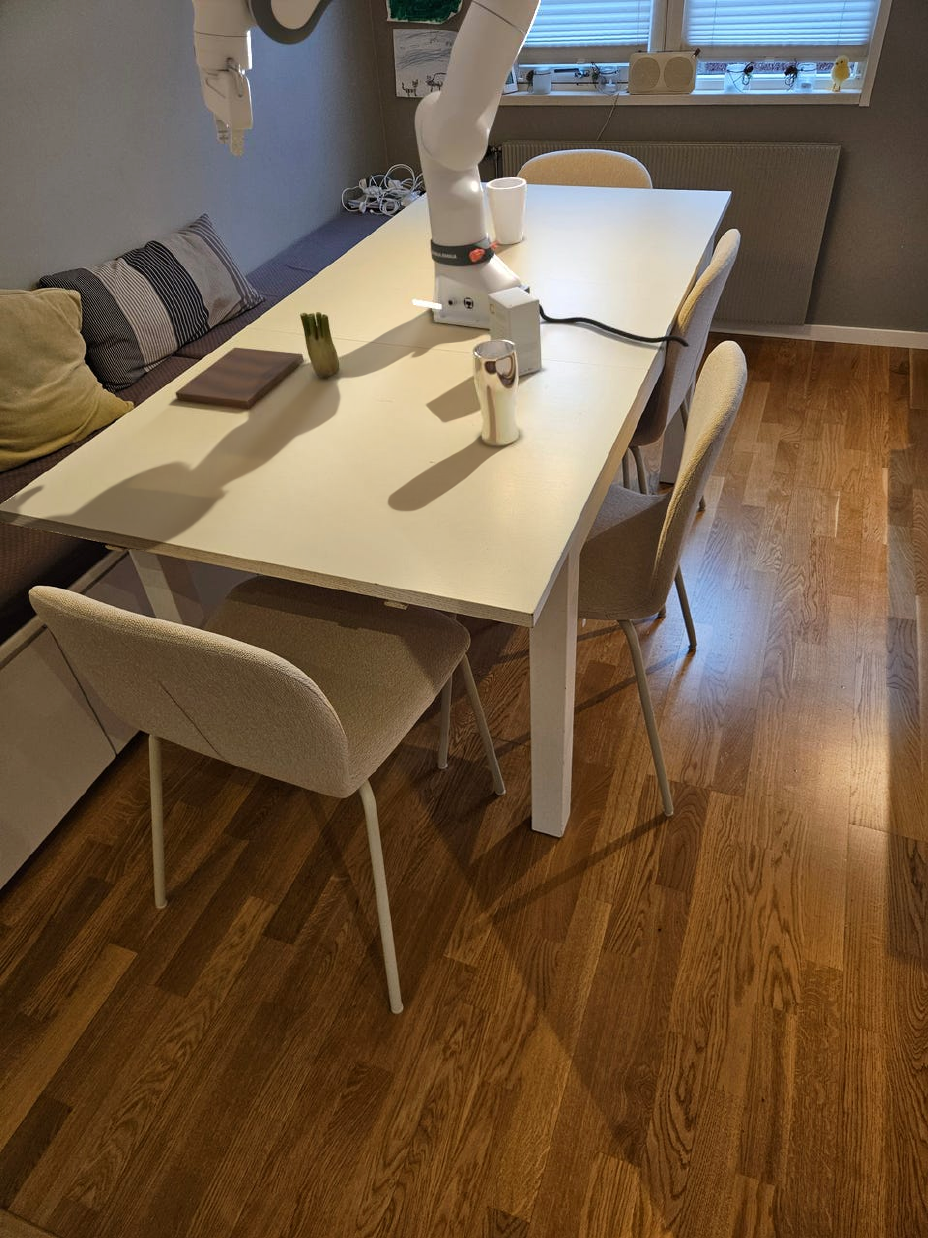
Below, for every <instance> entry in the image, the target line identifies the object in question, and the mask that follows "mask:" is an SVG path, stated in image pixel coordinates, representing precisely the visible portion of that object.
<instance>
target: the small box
mask: <svg viewBox="0 0 928 1238" xmlns="http://www.w3.org/2000/svg"><path fill="white" fill-rule="evenodd" d="M539 304H540V298H537V297H535V296H534V295H532V294H531V293H530V294H529V293H527V292H525V291H524V290H522V289H520V288H519V287H515V288H511V289H508V290H504V291H500V292H496V293H492V294H489V295H488V306H489V321H490V329H489V333H490V340H505V341H509V342H511V343H513V344H514V345H515V347H516V356H517V363H518V378H519V377H522V376H524V375H525V376H526V375H528V374H531V373H535V372H538V371H541V370H542V367H543V366H542V341H541V316H540V309H539Z"/></svg>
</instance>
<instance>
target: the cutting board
mask: <svg viewBox="0 0 928 1238" xmlns="http://www.w3.org/2000/svg"><path fill="white" fill-rule="evenodd" d="M304 362H305V361H304V356H303V353H295V352H287V351H286V352H284V351H275V350H265V349H255V348H244V347H233V348H232V349H231V350H229V351H228V352H227V353H226V354H223V356H221V357H220V358H219V359H217V360H216V361H215V362H213V363H212V364H210V365H209V366H208V367H207V368H206V369H205V370H203V371H202V372H201V373H199V374H198V375H196V376H195V377H194V378H192V379H191V380H190V381H189V382H187V383H186V384H185V385H183V386H182V387H180V388H179V389H178V390H176V391H175V392H174V393H175V397H176V399H177V401H185V402H192V403H193V402H194V403H201V404H207V405H208V404H209V405H216V406H225V407H232V408H239V409H248V410H249V409H250V408H251V407H252V406H254V405H255V404H256V403H257V402H258V401H260V399H261V398H263V397H264V396H265V395H266V394H268V393H269V392H270V391H271V390H272V389H273V388H275V387H276V386H277V385H278V384H279V383H280V382H281V381H282V380H284V379H285V378H286V377H288V375H289V374H291V373H292V372H293V371H294V370H295V369H296V368H298V367H299V366H300V365H301V364H302V363H304Z"/></svg>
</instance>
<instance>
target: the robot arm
mask: <svg viewBox="0 0 928 1238" xmlns="http://www.w3.org/2000/svg"><path fill="white" fill-rule="evenodd" d="M333 2H334V0H191V3H192V6H193V11H194V21H193V40H194V43H193V56H194V59H195V61H196V65H197V66H198V71H199V78H200V86H201V91H202V98H203V101H204V102H203V103H204V105H205V106H206V109H208V110H209V111H210V112H211V113H212V114H213V121H214V125H215V128H216V135H217V136H216V137H217V141H218V142H219V143H220V144H221V145H229V148H230V153H231V155H233V156H234V157H242V156H244V138H245V130H246V131H247V130H252V128H253V110H252V109H253V108H252V96H251V88H250V82H249V79H248V76H247V75H246V74H245V71H249V70H252V68H253V62H252V47H251V46H252V45H251V44H252V43H251V29H252V28H259V29H260V30H261V32H263V34H265V35H266V36H267V37H268V38H269V40H271V41H274V42H275V43H277V44H280V45H285V46H291V45H293V46H294V45H297V44H300V43H302V42H304V41H305V40H307V39H308V37H310V36H311V35H312V33H313V32H314V31H315V29H316V27H317V25H318V24H319V22H320V20H321V18H322V16H323V14H324V12H325V11H326V9H327V8H328V7H329V5H331V3H333ZM540 3H541V0H472V1H471V3H470V5H469V7H468V10H467V12H466V14H465V17H464V19H463V21H462V24H461V26H460V29H459V31H458V33H457V36H456V38H455V39H454V42H453V45H452V47H451V51H450V58H449V63H448V66H447V70H446V74H445V77H444V81H443V83H442V87H441V90H437V91H432V92H431V93H428V94H427V95H425V96H424V97H423V98H422V99H421V100H420V101H419V103H418V104H417V106H416V110H415V114H414V129H415V137H416V143H417V150H418V155H419V161H420V167H421V172H422V176H423V182H424V188H425V192H426V197H427V198H426V199H427V205H428V212H429V213H428V215H429V224H430V232H431V239H430V241H429V242H430V243H429V244H430V253H431V254H430V255H431V260H432V261H433V266H434V267H433V268H434V269H433V270H434V271H433V272H434V276H433V278H434V279H433V280H434V281H433V283H434V284H433V298H432V299H433V301H432V302H429V301H423V300H417V299H412V303H413V305H416V306H421V307H428V308H431V310H432V313H433V317H434V318H433V321H434V322H436V323H441V324H448V325H455V326H456V325H457V326H464V327H471V328H480V329H488V330H490V321H489V306H488V295H489V294H492V293H496V292H500V291H504V290H508V289H511V288H515V287H519V288H520V289H522V290H524V291H525V292H527V293H529V294H530V295H531V289H530V287H531V286H529V285H523V284H522V281H521V279H520V278H519V276H517V274H516V273H515V272H513V271H512V270H511V269H510V268H509V267H508V266H507V265H506V264H505V263H504V262H503V261H502V260H501V259H500V258H499V257H497V256H496V255H495V254H496V252H495V251H496V250H495V248H498V247H499V245H498V244H499V243H498V241H496V240H495V241H493V242H492V241H491V238H490V236H489V234H488V232H487V225H486V207H485V195H484V189H483V186H482V182H481V181H482V180H481V177H480V171H479V164H480V163H481V162H482V160H483V159H484V157H485V155H486V153H487V150H488V146H489V145H488V144H489V137H490V133H491V130H492V127H493V125H494V121H495V118H496V114H497V112H498V108H499V104H500V100H501V98H502V94H503V92H504V89H505V87H506V86H505V85H506V83H507V81H508V78H509V75H510V74H511V71H512V69H513V67H514V64H515V62H516V60H517V58H518V56H519V54H520V53H521V49H522V47H523V45H524V43H525V41H526V38H527V36H528V34H529V33H530V30H531V28H532V25H533V24H534V20H535V18H536V16H537V13H538V9H539V7H540ZM539 309H540V318H541V319H542V320H544V321H545V322H548V323H552V324H553V323H554V324H555V323H556V324H564V323H565V324H569V323H571V324H572V323H583V324H587V325H588V324H589V325H592V326H595V327H597V328H600V329H601V330H603V331H606V332H608V333H611V334H615V335H617V336H621V337H624V338H627V339H629V340H634V341H636V342H637V341H638V342H641V343H648V344H658V343H664V342H676V343H678V344H680V345H681V346H682V347H684V348H689V347H690V345H689V343H688V342H687V341H686V339H684V338H682V337H680V336H678V335H665V336H659V337H648V336H642V335H637V334H634V333H632V332H631V333H630V332H627V331H624V330H621V329H618V328H615V327H613V326H610V325H607V324H605V323H603V322H601V321H598V320H595V319H592V318H588V317H582V316H575V317H567V318H553V317H550V316H548V315H546V313H545V311H544V308H543V306H542V305H541V304H540V303H539Z"/></svg>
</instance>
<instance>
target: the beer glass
mask: <svg viewBox="0 0 928 1238" xmlns="http://www.w3.org/2000/svg"><path fill="white" fill-rule="evenodd" d="M472 374H473V382H474V383H473V384H474V388H475V394H476V397H477V401H478V405H479V408H480V411H481V419H482V427H481V434H480V435H481V440H482V441H483V442H484V443H485V444H487V445H490V446H507V445H511V444H512V443H514V442H515V441H517V440H518V439H519V435H520V432H519V428H518V425H517V419H516V407H517V399H518V390H519V377H518V363H517V356H516V347H515V345H514V344H513V343H511V342H509V341H505V340H491V339H490V340H486V341H483V342H480V343H478V344H476V345H475V346H474V347H473V349H472Z"/></svg>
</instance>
